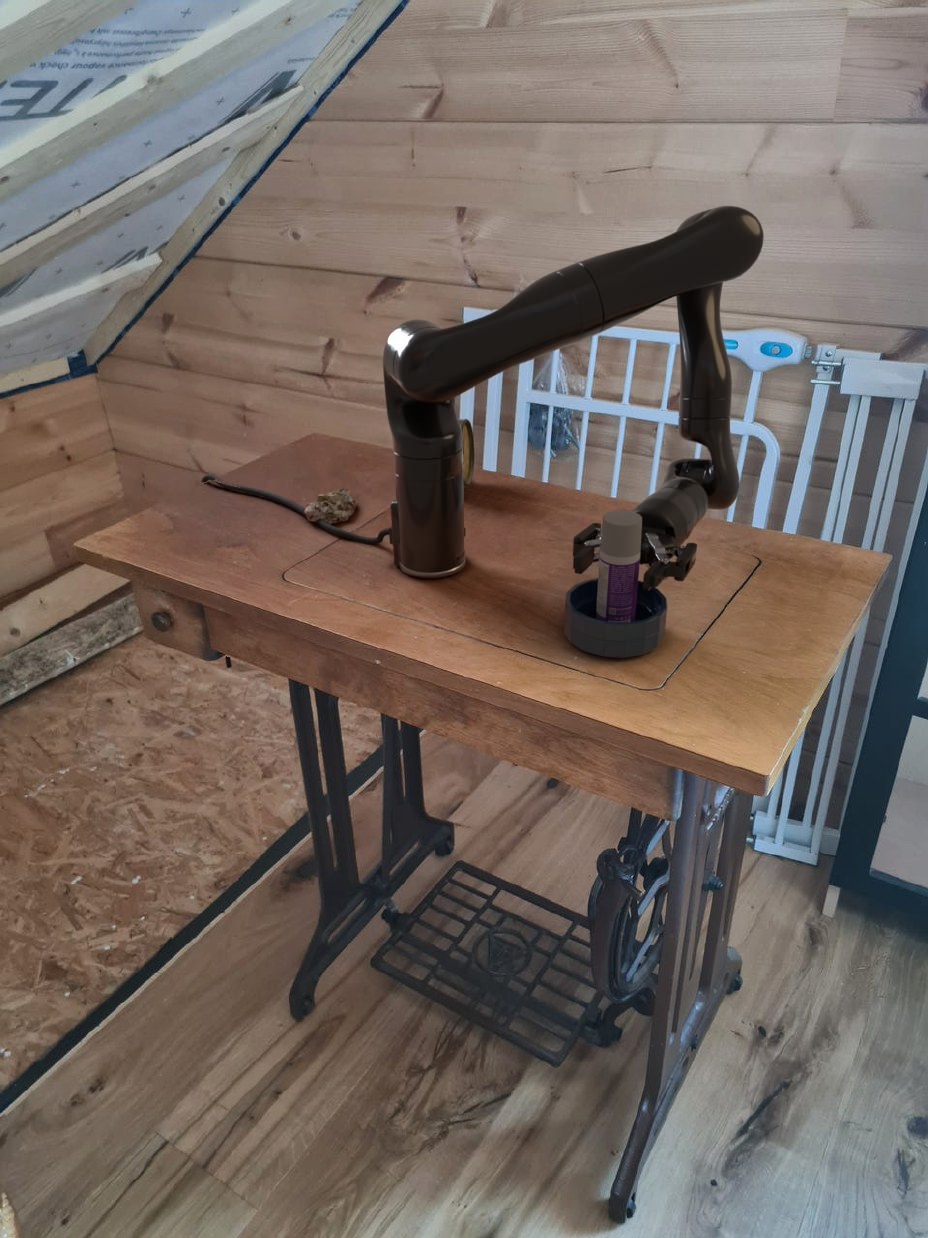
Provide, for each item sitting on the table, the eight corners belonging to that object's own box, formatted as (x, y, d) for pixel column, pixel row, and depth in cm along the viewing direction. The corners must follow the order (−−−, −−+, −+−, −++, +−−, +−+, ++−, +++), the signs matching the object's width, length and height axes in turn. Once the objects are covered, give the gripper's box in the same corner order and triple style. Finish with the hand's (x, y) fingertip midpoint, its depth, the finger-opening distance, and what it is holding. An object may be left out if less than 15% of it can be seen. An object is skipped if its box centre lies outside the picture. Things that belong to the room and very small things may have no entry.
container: (639, 627, 113) (649, 514, 105) (624, 644, 109) (633, 529, 102) (605, 617, 115) (612, 506, 108) (588, 634, 112) (594, 520, 104)
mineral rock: (338, 516, 140) (294, 495, 142) (333, 540, 142) (290, 519, 144) (373, 494, 149) (331, 474, 150) (368, 517, 151) (327, 497, 153)
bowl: (547, 645, 111) (548, 609, 108) (588, 603, 120) (590, 569, 117) (641, 671, 105) (645, 634, 103) (677, 625, 114) (680, 590, 112)
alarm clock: (463, 502, 150) (461, 405, 142) (431, 500, 151) (427, 403, 143) (476, 478, 159) (475, 385, 151) (446, 476, 160) (443, 384, 152)
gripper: (610, 487, 120) (556, 533, 108) (718, 507, 113) (673, 558, 101) (607, 540, 123) (554, 589, 111) (711, 562, 117) (667, 617, 105)
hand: (611, 574), depth 106 cm, fingers open, 8 cm apart
